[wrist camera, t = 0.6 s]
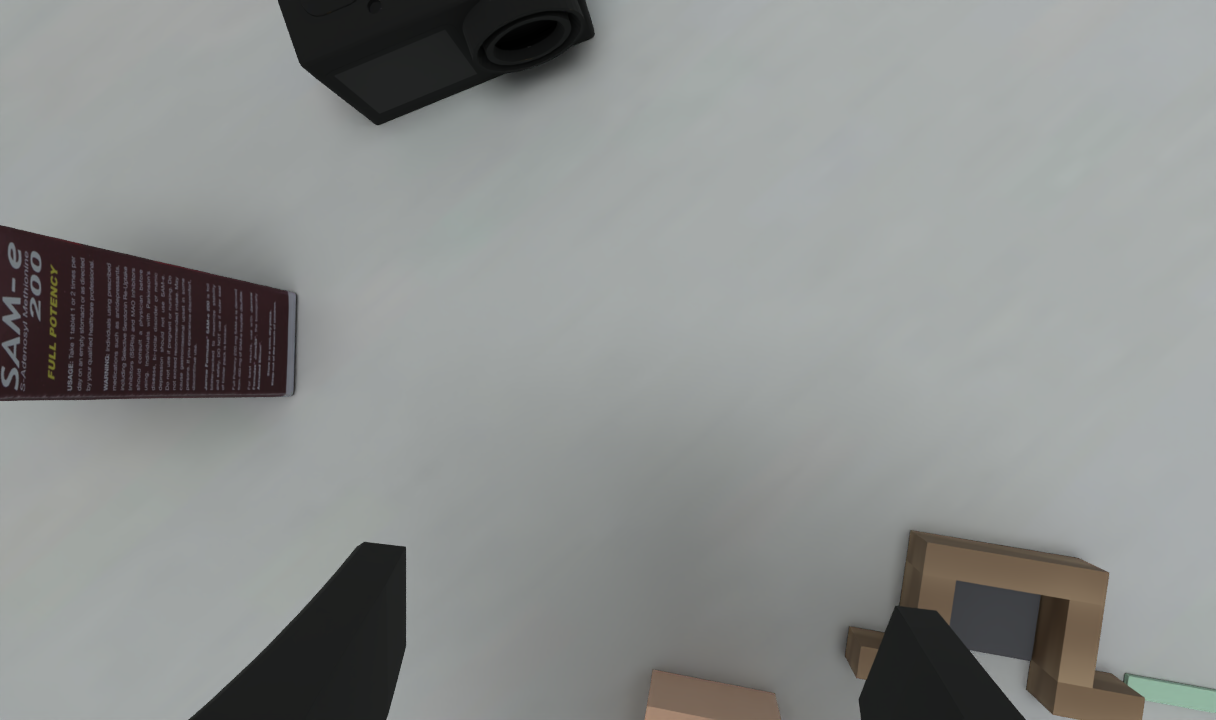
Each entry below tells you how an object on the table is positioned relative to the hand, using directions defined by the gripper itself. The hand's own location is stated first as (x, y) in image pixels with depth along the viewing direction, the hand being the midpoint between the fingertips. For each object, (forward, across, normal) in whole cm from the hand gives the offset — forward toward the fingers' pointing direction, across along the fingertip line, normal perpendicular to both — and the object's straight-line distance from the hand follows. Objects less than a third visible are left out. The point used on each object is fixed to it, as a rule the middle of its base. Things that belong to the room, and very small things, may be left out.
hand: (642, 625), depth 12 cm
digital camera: (+29, +8, -2) cm, 30 cm away
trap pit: (+16, -15, +14) cm, 26 cm away
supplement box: (+23, +18, +10) cm, 31 cm away
